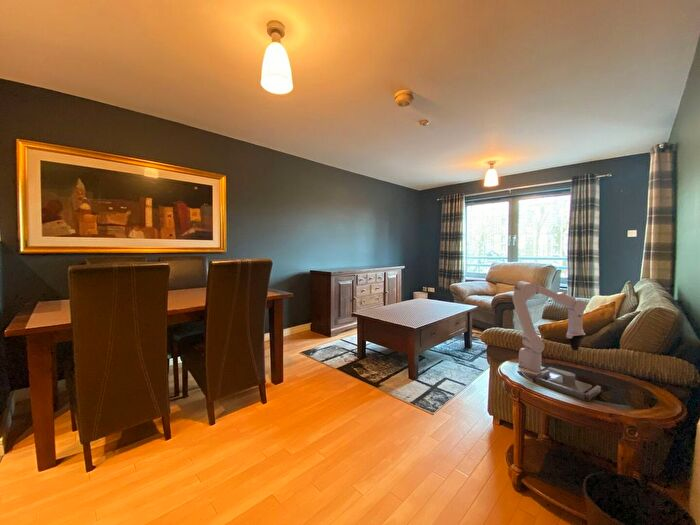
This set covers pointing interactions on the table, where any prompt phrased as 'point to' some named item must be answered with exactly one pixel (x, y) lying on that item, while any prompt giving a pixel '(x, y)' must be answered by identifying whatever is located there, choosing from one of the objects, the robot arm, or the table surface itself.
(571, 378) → the shower valve
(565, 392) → the mounting bracket
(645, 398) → the table surface
